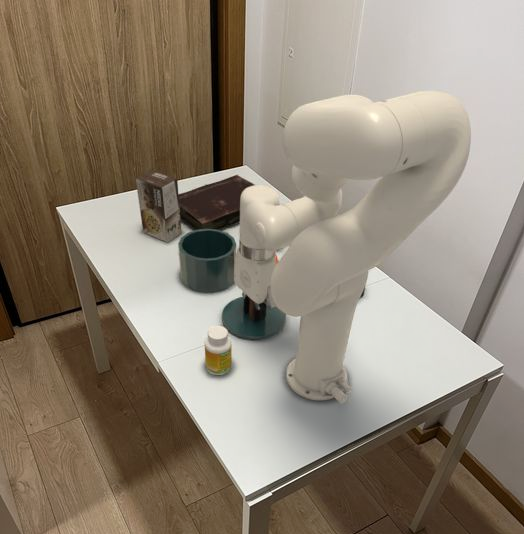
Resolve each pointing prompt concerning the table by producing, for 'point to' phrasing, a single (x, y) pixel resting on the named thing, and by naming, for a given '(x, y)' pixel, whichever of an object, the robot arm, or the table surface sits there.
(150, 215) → the coffee box
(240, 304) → the lid
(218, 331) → the supplement bottle
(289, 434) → the table surface
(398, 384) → the table surface
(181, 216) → the diary
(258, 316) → the robot arm
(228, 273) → the tin
